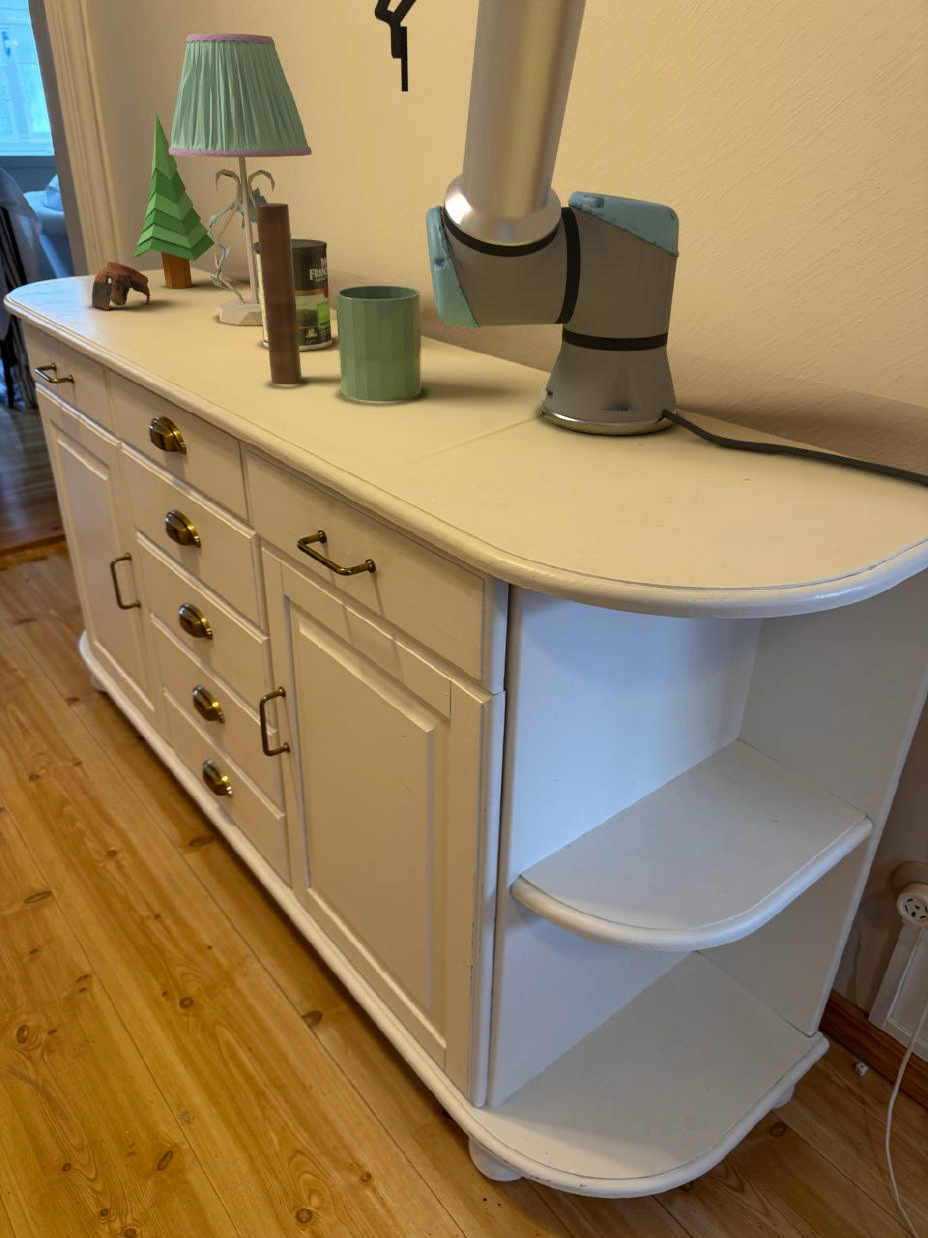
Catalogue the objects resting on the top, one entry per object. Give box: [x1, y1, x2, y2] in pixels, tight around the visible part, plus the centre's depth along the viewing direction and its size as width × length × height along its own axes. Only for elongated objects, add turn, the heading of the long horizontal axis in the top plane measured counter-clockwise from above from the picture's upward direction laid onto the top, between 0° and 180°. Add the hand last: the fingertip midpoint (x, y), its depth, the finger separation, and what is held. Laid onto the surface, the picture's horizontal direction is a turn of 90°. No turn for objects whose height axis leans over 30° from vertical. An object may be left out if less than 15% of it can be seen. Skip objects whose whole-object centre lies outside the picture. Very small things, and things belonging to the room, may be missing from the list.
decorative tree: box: [132, 112, 216, 289], centre depth 174 cm, size 14×16×30 cm
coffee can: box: [253, 238, 333, 352], centre depth 135 cm, size 10×10×14 cm
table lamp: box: [169, 33, 313, 326], centre depth 145 cm, size 22×22×40 cm
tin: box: [335, 284, 423, 402], centre depth 112 cm, size 10×10×12 cm
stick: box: [255, 202, 303, 385], centre depth 113 cm, size 4×4×21 cm
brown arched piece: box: [91, 261, 151, 311], centre depth 161 cm, size 12×10×8 cm
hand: (461, 92), depth 111 cm, fingers open, 13 cm apart
